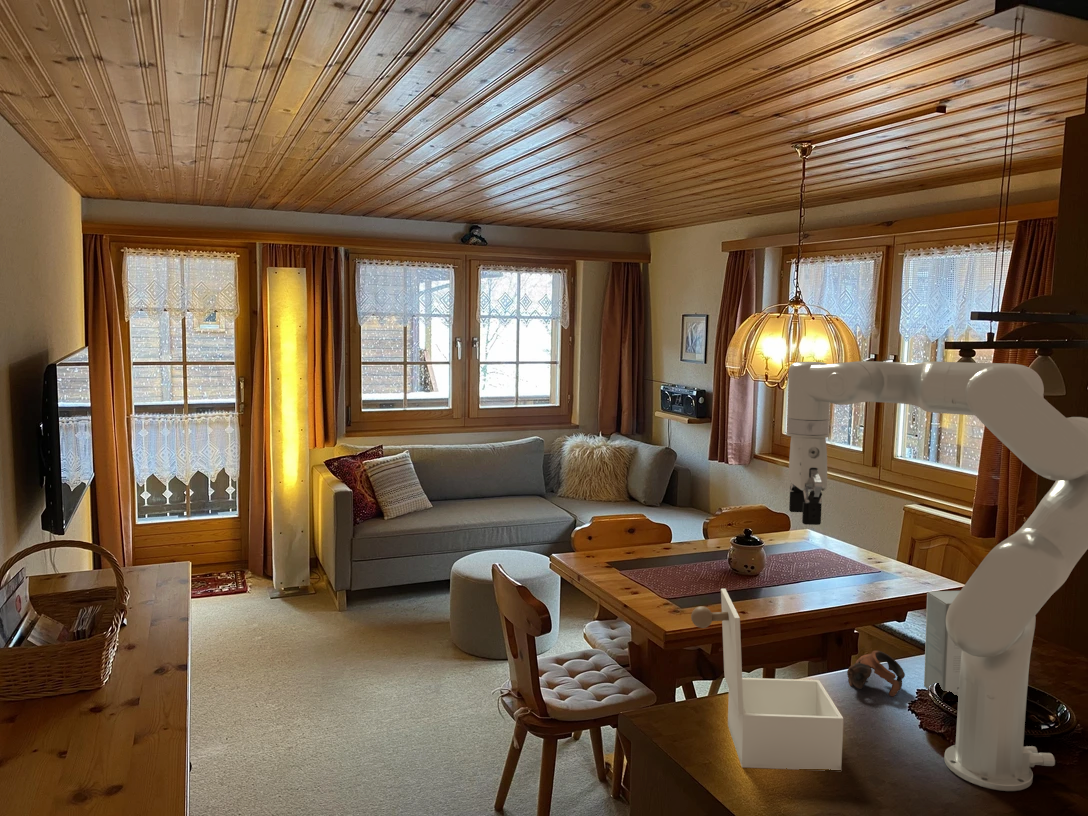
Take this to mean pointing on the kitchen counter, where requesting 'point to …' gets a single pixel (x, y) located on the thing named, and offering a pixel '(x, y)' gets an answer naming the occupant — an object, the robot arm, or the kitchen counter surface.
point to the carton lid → (726, 643)
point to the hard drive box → (941, 644)
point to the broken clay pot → (876, 671)
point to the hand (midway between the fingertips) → (804, 517)
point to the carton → (786, 725)
